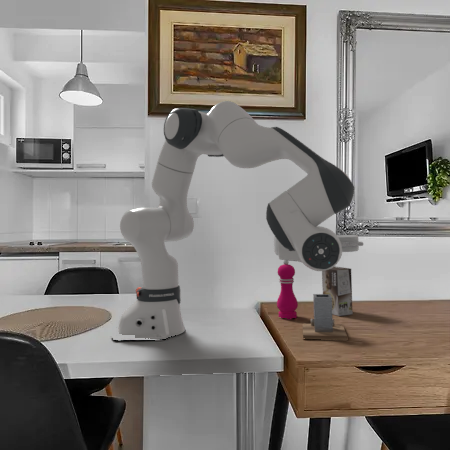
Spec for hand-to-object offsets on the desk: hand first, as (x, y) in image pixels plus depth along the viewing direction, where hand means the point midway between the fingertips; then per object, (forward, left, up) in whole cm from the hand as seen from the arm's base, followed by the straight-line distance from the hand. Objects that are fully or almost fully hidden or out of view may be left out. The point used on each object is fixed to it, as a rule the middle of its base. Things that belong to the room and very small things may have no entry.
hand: (314, 241), depth 99 cm
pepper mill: (+3, +32, -28) cm, 43 cm away
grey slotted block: (+7, +12, -27) cm, 30 cm away
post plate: (+7, +11, -28) cm, 31 cm away
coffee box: (+22, +33, -28) cm, 49 cm away
